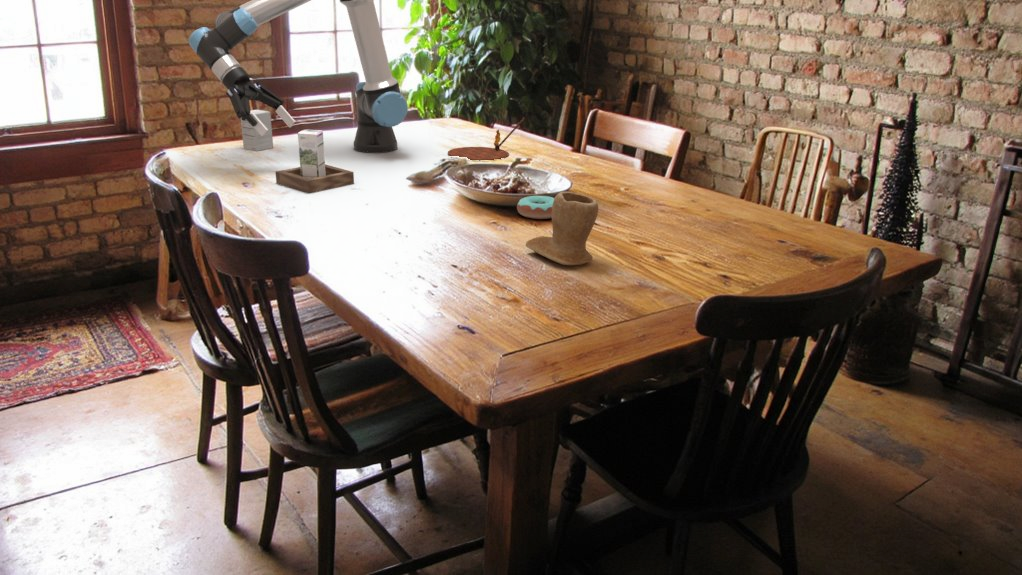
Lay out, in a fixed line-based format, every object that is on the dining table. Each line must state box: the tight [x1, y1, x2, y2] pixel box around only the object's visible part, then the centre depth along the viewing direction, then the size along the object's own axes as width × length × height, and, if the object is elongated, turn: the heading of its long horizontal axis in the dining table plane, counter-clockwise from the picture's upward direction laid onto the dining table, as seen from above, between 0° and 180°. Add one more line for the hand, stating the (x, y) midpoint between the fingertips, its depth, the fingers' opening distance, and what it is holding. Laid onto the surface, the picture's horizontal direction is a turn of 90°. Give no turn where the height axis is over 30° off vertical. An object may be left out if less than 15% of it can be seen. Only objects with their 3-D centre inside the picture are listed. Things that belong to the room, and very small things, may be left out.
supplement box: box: [240, 109, 274, 152], centre depth 290 cm, size 7×7×13 cm
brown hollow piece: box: [525, 191, 599, 266], centre depth 187 cm, size 15×12×15 cm
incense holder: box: [447, 117, 526, 161], centre depth 290 cm, size 21×30×11 cm
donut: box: [516, 195, 555, 220], centre depth 222 cm, size 12×12×4 cm
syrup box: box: [297, 129, 326, 179], centre depth 245 cm, size 6×6×14 cm
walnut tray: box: [274, 163, 355, 194], centre depth 248 cm, size 16×16×4 cm
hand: (279, 128), depth 250 cm, fingers open, 13 cm apart
